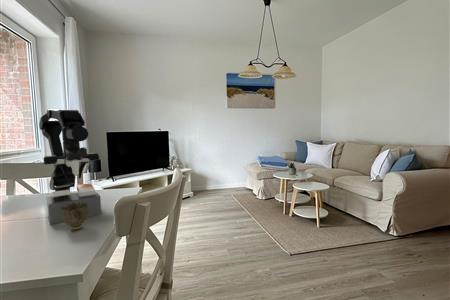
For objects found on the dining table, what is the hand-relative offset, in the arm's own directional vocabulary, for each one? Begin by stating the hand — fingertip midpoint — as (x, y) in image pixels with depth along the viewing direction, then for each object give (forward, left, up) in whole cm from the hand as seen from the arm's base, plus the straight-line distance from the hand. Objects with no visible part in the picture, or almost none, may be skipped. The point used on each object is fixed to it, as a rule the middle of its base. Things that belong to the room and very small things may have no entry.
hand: (73, 179), depth 100 cm
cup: (+26, -3, -12) cm, 29 cm away
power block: (+9, -2, -12) cm, 15 cm away
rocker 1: (+10, -6, -4) cm, 12 cm away
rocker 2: (+10, +2, -4) cm, 11 cm away
